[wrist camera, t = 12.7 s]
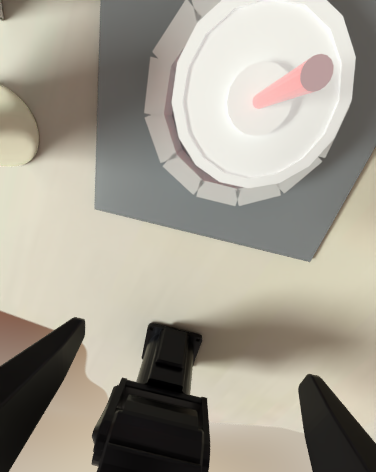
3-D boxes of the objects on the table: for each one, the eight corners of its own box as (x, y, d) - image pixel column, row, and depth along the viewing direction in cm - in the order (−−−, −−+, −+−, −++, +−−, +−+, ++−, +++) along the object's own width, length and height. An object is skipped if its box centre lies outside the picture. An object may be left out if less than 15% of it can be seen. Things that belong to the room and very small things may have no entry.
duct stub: (308, 258, 21) (324, 282, 18) (97, 207, 21) (76, 222, 18) (482, -55, 12) (579, -119, 9) (109, -151, 12) (71, -250, 9)
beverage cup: (178, 85, 16) (35, -69, 3) (269, 37, 14) (735, -678, 1) (210, 170, 18) (201, 280, 5) (290, 138, 16) (543, 187, 4)
